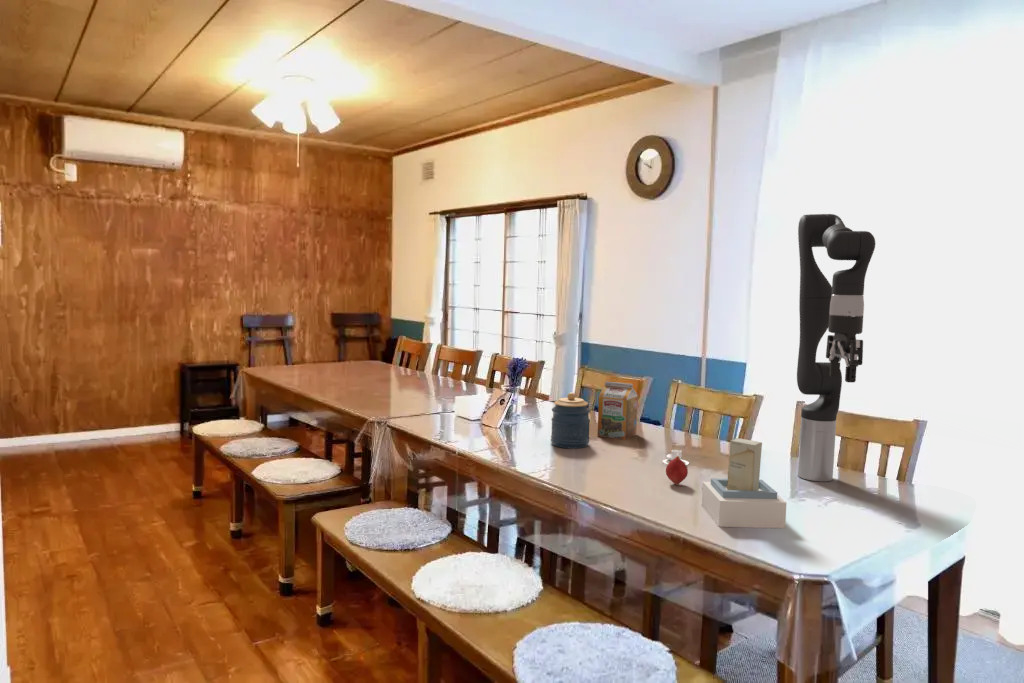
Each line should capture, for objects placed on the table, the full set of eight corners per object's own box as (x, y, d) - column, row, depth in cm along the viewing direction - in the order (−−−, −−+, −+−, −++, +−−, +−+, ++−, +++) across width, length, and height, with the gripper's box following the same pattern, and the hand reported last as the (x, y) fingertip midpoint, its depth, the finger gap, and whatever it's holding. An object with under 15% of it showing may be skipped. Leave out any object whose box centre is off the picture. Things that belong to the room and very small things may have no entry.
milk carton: (636, 434, 252) (638, 382, 250) (625, 439, 243) (627, 385, 241) (609, 430, 257) (610, 379, 255) (597, 435, 248) (599, 383, 246)
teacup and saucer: (665, 458, 219) (666, 446, 219) (691, 461, 216) (691, 448, 216) (660, 465, 211) (660, 452, 211) (686, 468, 208) (687, 455, 208)
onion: (661, 482, 192) (662, 454, 191) (678, 480, 194) (679, 452, 193) (673, 488, 186) (675, 459, 186) (691, 486, 188) (692, 457, 188)
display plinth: (701, 505, 173) (703, 475, 172) (762, 506, 172) (763, 477, 172) (718, 526, 158) (720, 494, 157) (785, 528, 157) (786, 495, 157)
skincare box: (726, 490, 165) (728, 440, 164) (734, 486, 168) (737, 437, 167) (752, 496, 161) (754, 444, 160) (759, 492, 164) (762, 441, 163)
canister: (594, 448, 229) (596, 395, 228) (557, 449, 226) (558, 396, 225) (581, 439, 242) (583, 389, 240) (546, 440, 239) (547, 390, 237)
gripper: (818, 311, 176) (814, 375, 178) (844, 314, 162) (839, 383, 164) (848, 312, 176) (844, 375, 178) (876, 315, 162) (871, 384, 164)
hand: (842, 379), depth 171 cm, fingers open, 8 cm apart
